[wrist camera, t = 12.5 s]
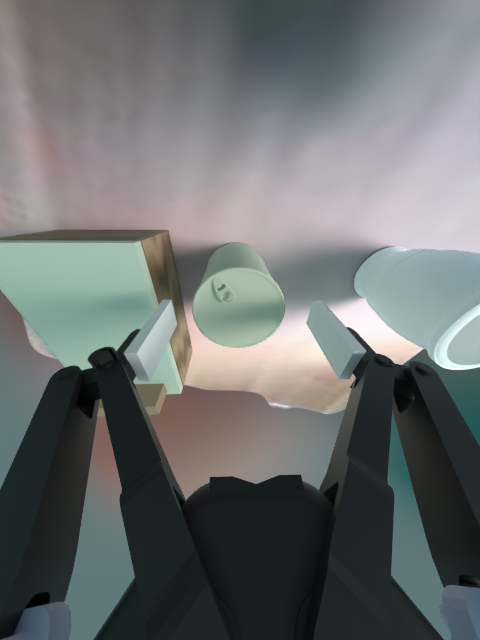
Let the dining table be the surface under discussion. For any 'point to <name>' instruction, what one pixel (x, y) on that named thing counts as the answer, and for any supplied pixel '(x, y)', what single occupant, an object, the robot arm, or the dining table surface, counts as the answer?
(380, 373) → the robot arm
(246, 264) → the can
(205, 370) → the dining table surface
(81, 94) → the dining table surface
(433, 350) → the jar
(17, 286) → the lid
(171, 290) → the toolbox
